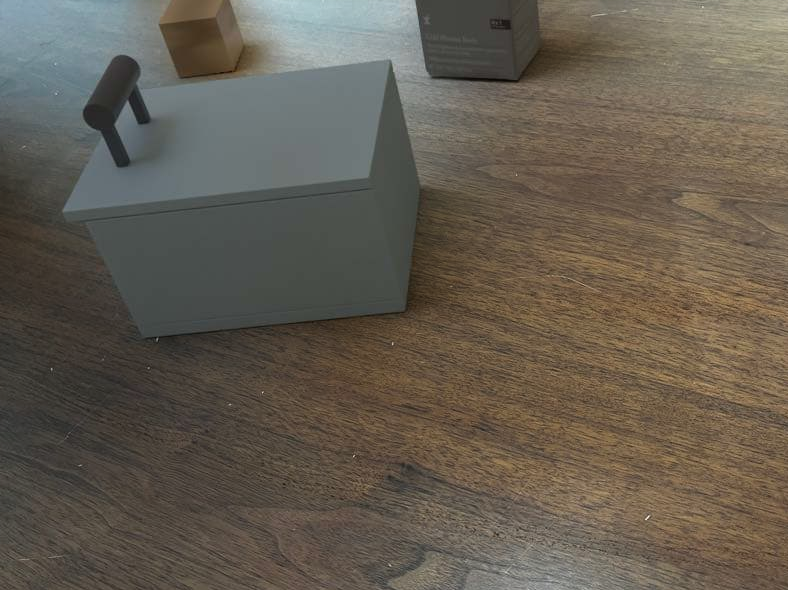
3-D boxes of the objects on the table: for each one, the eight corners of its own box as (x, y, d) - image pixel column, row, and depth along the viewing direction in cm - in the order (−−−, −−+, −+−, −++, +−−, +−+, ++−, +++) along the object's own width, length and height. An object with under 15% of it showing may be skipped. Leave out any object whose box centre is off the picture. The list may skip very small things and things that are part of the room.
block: (178, 78, 95) (157, 23, 91) (191, 51, 98) (171, -2, 95) (234, 71, 94) (215, 16, 91) (244, 45, 98) (227, -9, 94)
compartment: (142, 338, 69) (84, 222, 63) (191, 212, 79) (144, 100, 73) (405, 311, 68) (372, 189, 61) (421, 186, 78) (393, 70, 71)
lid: (67, 223, 63) (27, 146, 59) (130, 101, 73) (99, 29, 69) (372, 189, 61) (350, 107, 58) (393, 69, 71) (376, -6, 68)
